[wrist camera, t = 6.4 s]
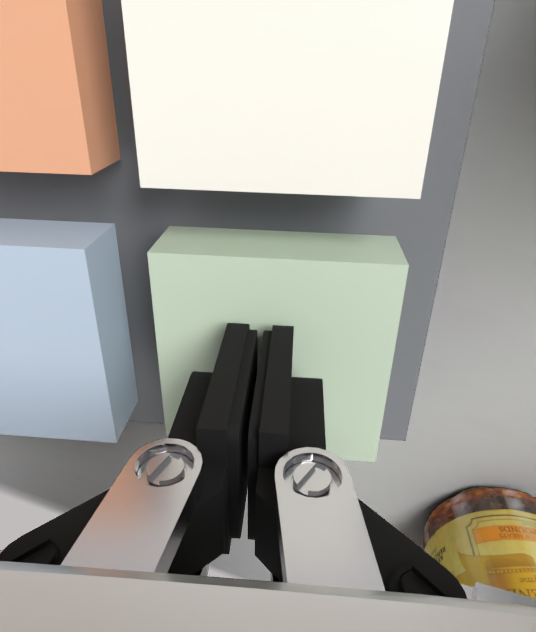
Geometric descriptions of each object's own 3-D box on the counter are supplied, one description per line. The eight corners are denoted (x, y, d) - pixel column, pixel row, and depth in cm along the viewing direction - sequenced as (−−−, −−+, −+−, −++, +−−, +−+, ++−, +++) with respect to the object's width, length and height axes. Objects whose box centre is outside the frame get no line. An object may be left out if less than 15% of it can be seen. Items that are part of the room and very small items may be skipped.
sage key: (395, 236, 13) (408, 265, 11) (368, 416, 16) (375, 462, 14) (169, 225, 13) (147, 252, 11) (183, 403, 16) (167, 446, 14)
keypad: (504, -212, 11) (565, -296, 9) (395, 398, 20) (407, 452, 17) (-282, -204, 13) (-445, -276, 10) (-69, 367, 21) (-126, 414, 19)
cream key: (453, -147, 9) (487, -195, 7) (404, 177, 12) (420, 198, 10) (140, -146, 10) (100, -191, 8) (165, 168, 12) (140, 187, 11)
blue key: (114, 223, 13) (84, 249, 11) (138, 400, 16) (116, 443, 14) (-97, 213, 14) (-157, 237, 12) (-37, 388, 16) (-79, 428, 15)
